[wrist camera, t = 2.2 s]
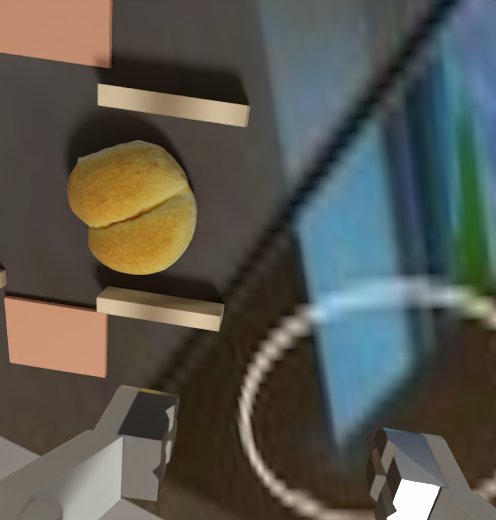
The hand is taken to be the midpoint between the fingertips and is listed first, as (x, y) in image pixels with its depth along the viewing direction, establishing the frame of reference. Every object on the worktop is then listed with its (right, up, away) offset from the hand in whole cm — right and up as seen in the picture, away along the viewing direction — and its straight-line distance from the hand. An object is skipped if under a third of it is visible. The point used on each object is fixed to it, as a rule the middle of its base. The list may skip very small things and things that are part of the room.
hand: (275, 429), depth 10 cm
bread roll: (-8, +8, +18) cm, 22 cm away
